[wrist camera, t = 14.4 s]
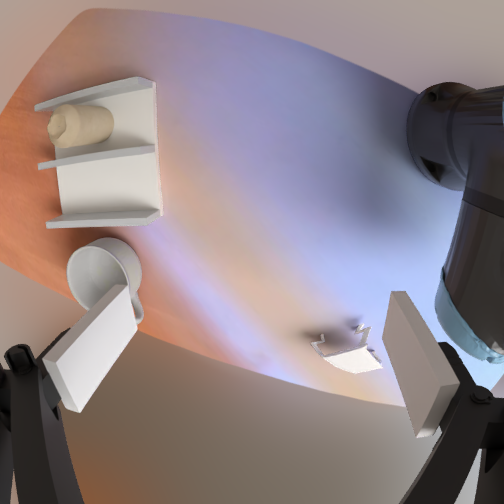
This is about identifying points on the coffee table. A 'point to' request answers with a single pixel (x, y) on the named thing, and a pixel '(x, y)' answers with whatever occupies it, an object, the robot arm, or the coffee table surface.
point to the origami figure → (352, 355)
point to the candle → (79, 125)
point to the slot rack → (111, 160)
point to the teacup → (104, 272)
